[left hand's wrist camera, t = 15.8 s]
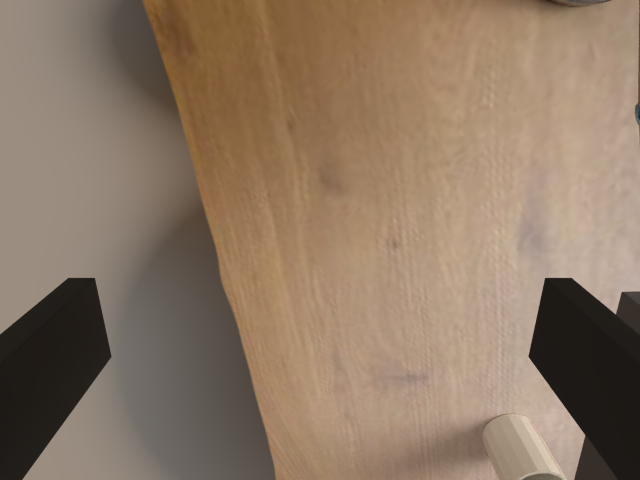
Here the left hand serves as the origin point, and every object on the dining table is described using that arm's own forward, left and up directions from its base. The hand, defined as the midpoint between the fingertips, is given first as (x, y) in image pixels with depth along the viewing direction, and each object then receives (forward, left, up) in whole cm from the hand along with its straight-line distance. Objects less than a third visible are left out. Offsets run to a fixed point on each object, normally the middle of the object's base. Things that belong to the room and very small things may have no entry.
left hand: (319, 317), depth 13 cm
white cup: (+40, +26, -35) cm, 59 cm away
